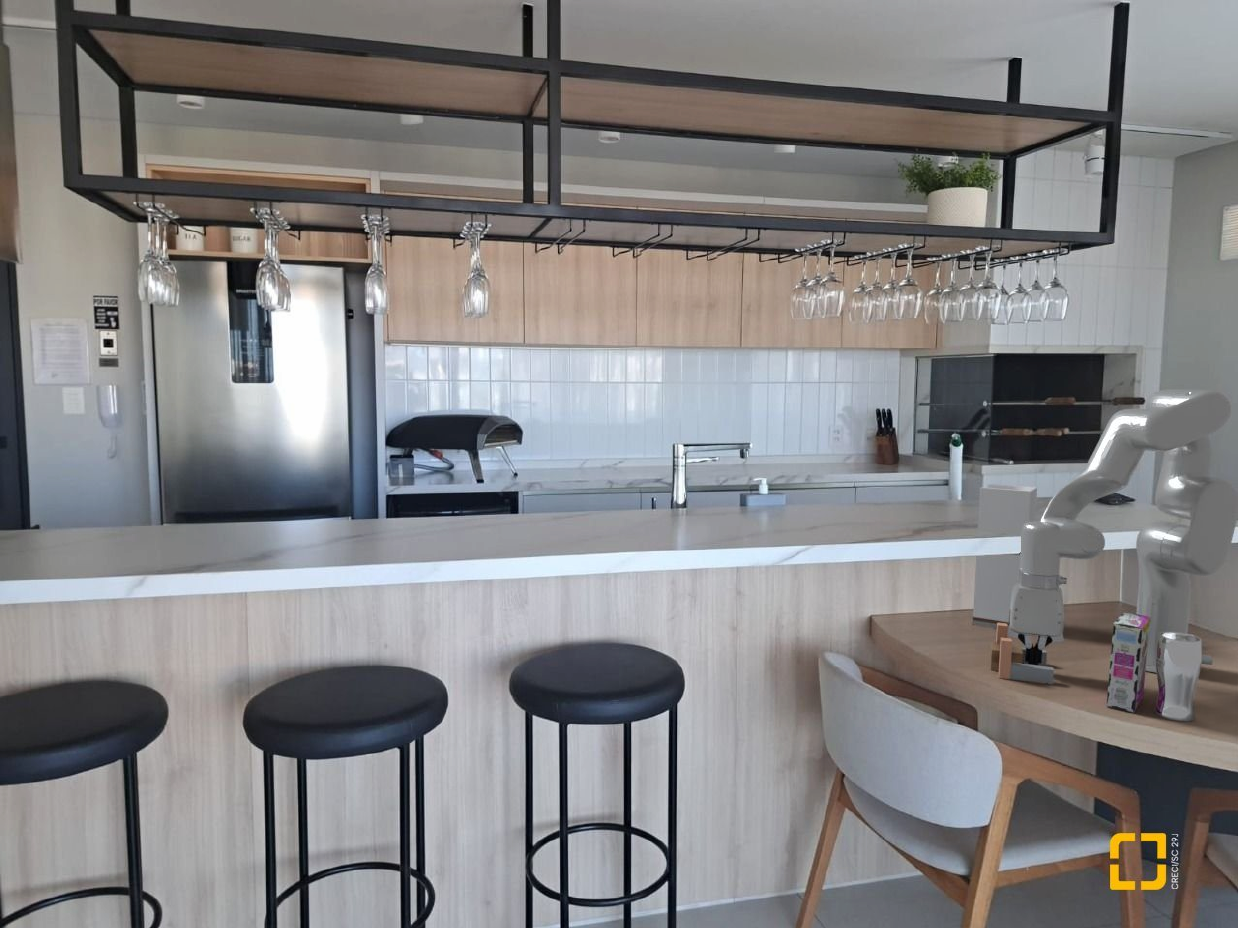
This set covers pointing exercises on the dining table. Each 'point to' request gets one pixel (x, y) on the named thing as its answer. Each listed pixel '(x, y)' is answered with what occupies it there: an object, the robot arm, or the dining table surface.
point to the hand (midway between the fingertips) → (1032, 665)
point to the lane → (1017, 669)
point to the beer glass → (1177, 674)
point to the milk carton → (1128, 662)
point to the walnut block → (995, 655)
